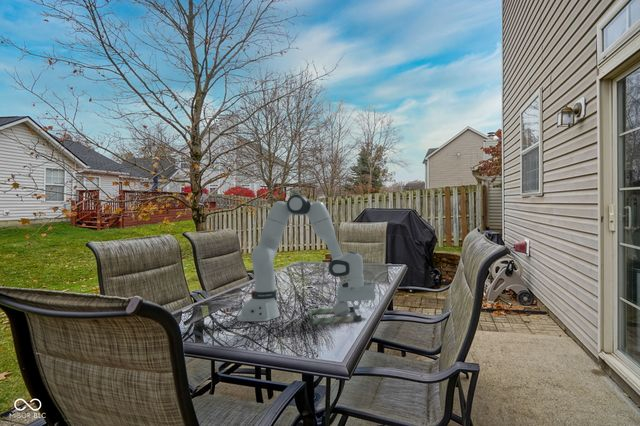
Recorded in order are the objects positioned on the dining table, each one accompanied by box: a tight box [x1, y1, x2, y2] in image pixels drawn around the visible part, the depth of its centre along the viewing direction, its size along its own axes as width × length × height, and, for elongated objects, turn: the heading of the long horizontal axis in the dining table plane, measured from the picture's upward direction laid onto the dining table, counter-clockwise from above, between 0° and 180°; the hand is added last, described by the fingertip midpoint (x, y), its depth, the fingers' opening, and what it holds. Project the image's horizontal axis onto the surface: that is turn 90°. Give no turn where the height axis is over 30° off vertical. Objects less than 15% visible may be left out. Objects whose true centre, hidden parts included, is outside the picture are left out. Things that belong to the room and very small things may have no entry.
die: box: [331, 300, 350, 317], centre depth 182 cm, size 8×9×10 cm
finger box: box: [308, 306, 362, 325], centre depth 182 cm, size 25×19×3 cm
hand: (356, 309), depth 183 cm, fingers closed
